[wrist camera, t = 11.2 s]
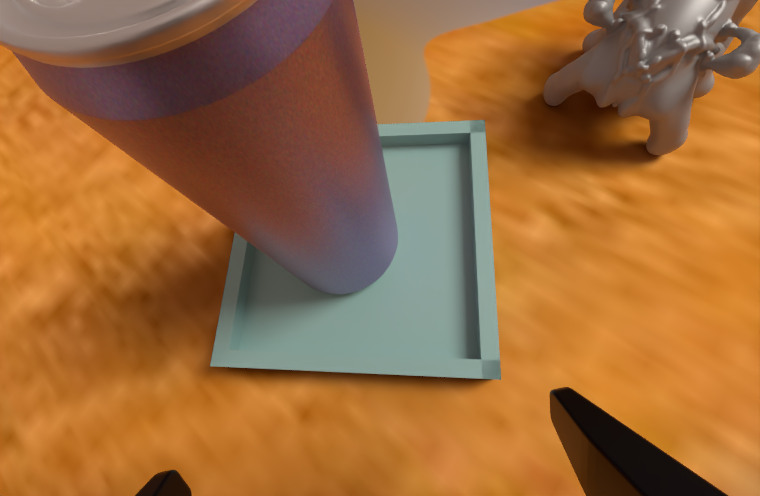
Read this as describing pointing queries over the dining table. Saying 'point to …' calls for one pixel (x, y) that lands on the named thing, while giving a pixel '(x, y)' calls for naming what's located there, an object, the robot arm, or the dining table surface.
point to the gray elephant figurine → (658, 60)
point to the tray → (386, 278)
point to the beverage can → (232, 115)
